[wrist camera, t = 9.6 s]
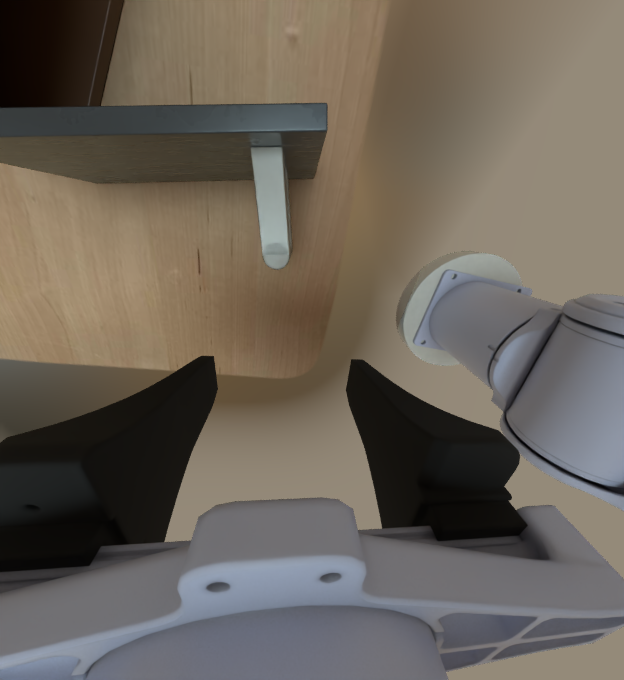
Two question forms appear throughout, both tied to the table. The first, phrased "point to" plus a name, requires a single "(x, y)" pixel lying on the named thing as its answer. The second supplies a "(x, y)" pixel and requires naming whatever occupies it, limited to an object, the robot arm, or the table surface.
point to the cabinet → (55, 51)
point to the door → (177, 150)
